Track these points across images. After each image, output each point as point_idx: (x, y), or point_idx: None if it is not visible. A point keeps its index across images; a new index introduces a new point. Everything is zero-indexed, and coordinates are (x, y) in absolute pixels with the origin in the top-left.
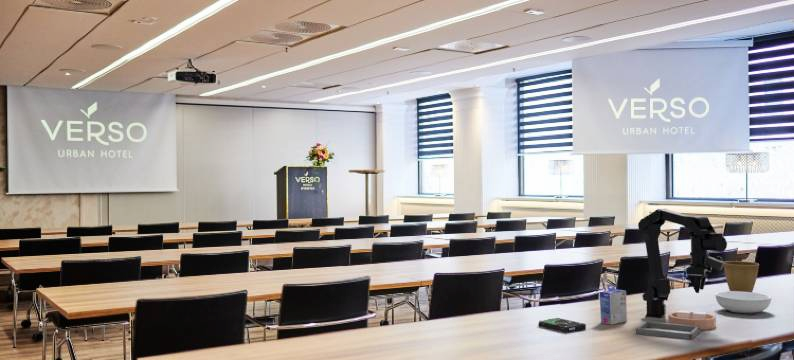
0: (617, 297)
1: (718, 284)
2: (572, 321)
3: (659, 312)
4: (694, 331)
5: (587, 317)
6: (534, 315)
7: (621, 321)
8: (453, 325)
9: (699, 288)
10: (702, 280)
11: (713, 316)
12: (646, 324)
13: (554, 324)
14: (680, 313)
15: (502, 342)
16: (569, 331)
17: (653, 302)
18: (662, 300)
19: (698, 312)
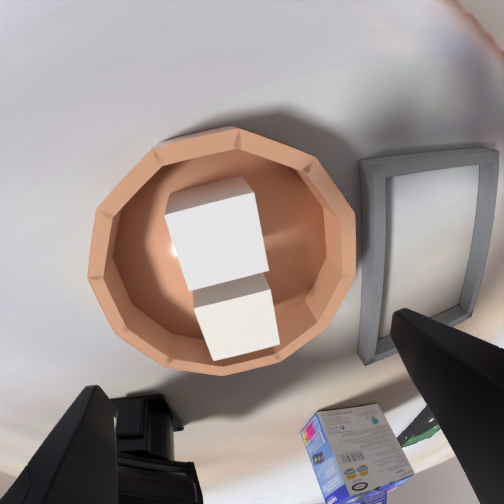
0: (382, 470)
1: None
2: (427, 421)
3: (155, 416)
4: (469, 154)
5: (306, 461)
6: None
7: (341, 411)
8: (438, 452)
9: (452, 327)
10: (78, 490)
11: (153, 166)
12: (391, 344)
13: None
14: (275, 326)
15: None
16: None
17: (172, 459)
18: (129, 454)
19: (205, 259)
